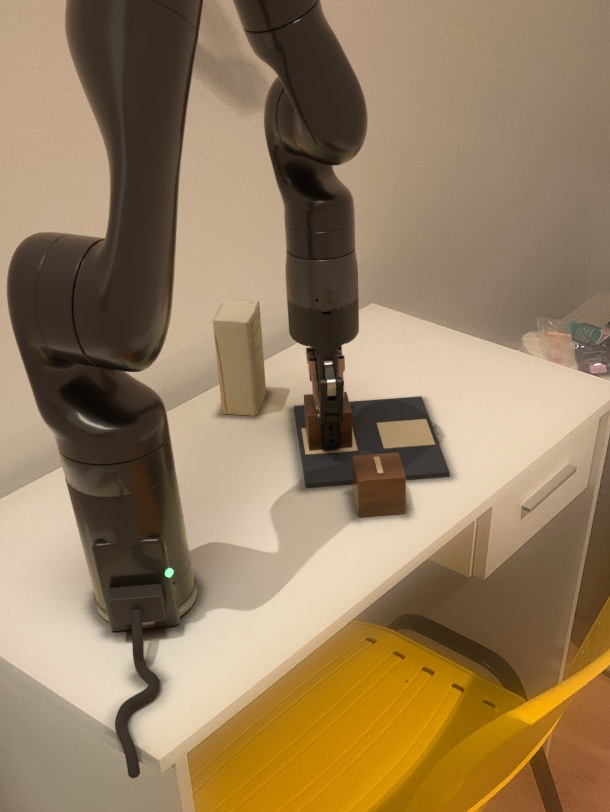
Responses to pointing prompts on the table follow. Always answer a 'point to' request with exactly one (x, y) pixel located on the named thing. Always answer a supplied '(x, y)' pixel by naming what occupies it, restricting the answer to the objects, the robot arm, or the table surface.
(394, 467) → the brown letter i block
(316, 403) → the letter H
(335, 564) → the table surface
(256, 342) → the cosmetic box
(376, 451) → the word mat
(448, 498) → the table surface
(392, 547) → the table surface
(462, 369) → the table surface
